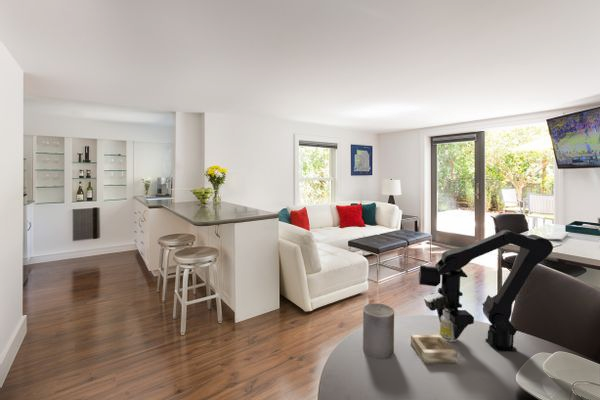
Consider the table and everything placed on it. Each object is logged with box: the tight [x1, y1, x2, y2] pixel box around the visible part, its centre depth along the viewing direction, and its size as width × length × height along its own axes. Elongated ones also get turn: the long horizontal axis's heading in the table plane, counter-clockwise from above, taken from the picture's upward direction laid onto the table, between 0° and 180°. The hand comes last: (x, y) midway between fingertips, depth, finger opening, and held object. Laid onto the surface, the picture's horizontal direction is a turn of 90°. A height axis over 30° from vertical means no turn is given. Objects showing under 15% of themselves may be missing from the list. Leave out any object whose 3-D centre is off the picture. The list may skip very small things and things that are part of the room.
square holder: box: [410, 334, 458, 364], centre depth 93 cm, size 10×10×3 cm
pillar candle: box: [362, 302, 395, 360], centre depth 94 cm, size 10×10×15 cm
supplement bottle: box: [439, 309, 458, 343], centre depth 102 cm, size 5×5×10 cm
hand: (448, 331), depth 102 cm, fingers open, 9 cm apart
